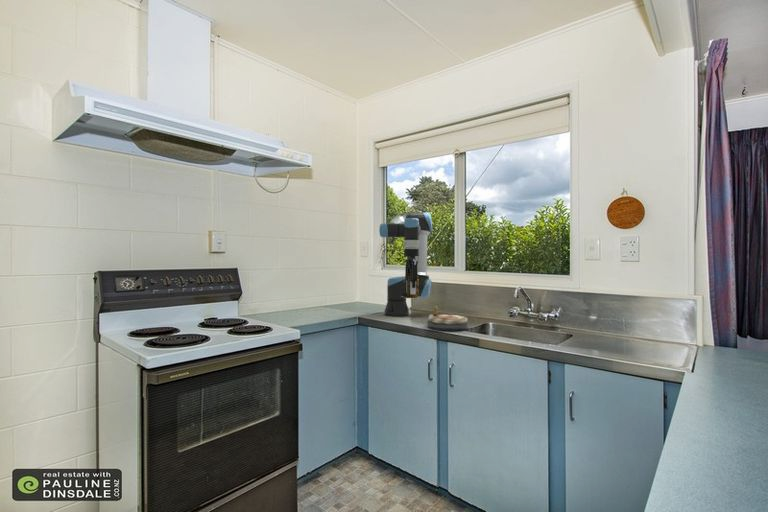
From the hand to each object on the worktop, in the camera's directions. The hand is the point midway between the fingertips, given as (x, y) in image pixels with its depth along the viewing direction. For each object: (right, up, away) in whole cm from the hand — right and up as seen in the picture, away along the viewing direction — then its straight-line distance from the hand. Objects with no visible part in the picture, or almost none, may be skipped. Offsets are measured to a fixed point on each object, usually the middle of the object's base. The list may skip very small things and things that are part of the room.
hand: (411, 293), depth 203 cm
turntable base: (+19, -18, +3) cm, 26 cm away
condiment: (0, -2, 0) cm, 2 cm away
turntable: (+19, -15, +3) cm, 24 cm away
